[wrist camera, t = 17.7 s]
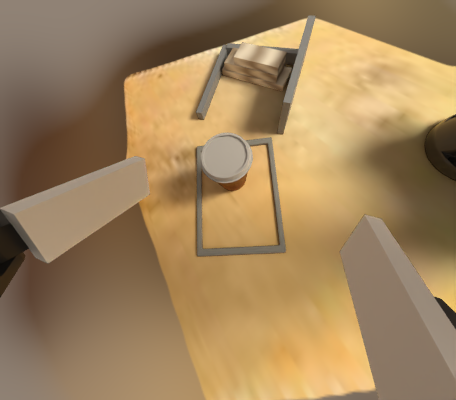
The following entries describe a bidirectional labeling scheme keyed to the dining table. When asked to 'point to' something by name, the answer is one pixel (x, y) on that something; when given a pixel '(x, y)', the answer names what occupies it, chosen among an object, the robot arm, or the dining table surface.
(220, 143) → the disposable coffee cup
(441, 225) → the dining table surface
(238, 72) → the offcut stack
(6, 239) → the robot arm
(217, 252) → the empty picture frame
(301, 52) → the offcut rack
